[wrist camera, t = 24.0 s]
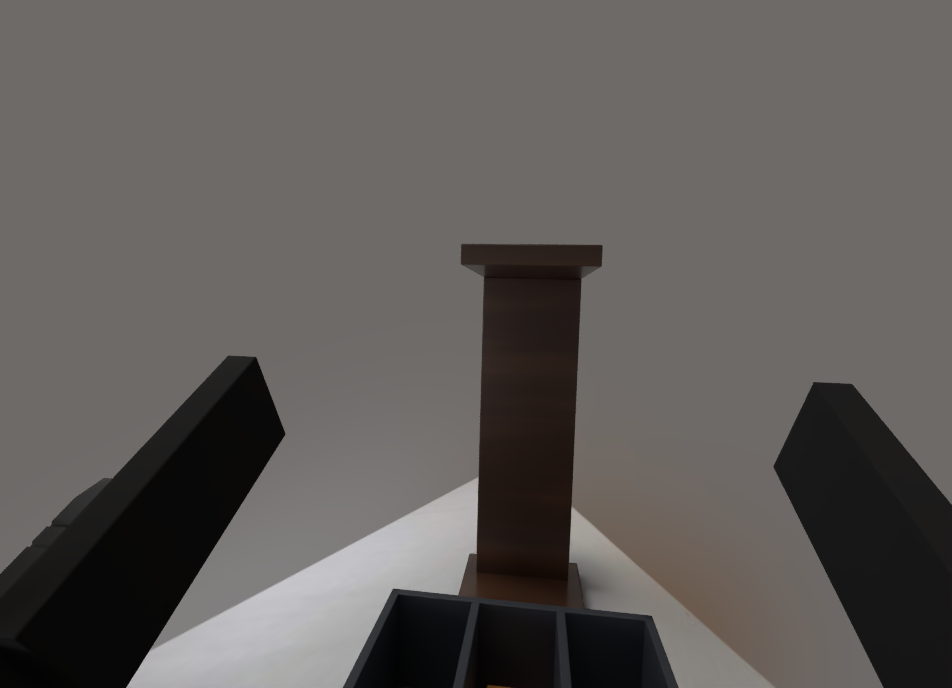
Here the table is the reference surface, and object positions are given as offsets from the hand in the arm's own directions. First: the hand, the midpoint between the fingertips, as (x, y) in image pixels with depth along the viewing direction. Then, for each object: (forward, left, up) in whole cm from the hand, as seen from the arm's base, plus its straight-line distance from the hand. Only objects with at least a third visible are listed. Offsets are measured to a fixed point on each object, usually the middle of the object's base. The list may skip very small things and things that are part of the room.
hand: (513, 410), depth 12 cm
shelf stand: (-8, +21, -22) cm, 31 cm away
